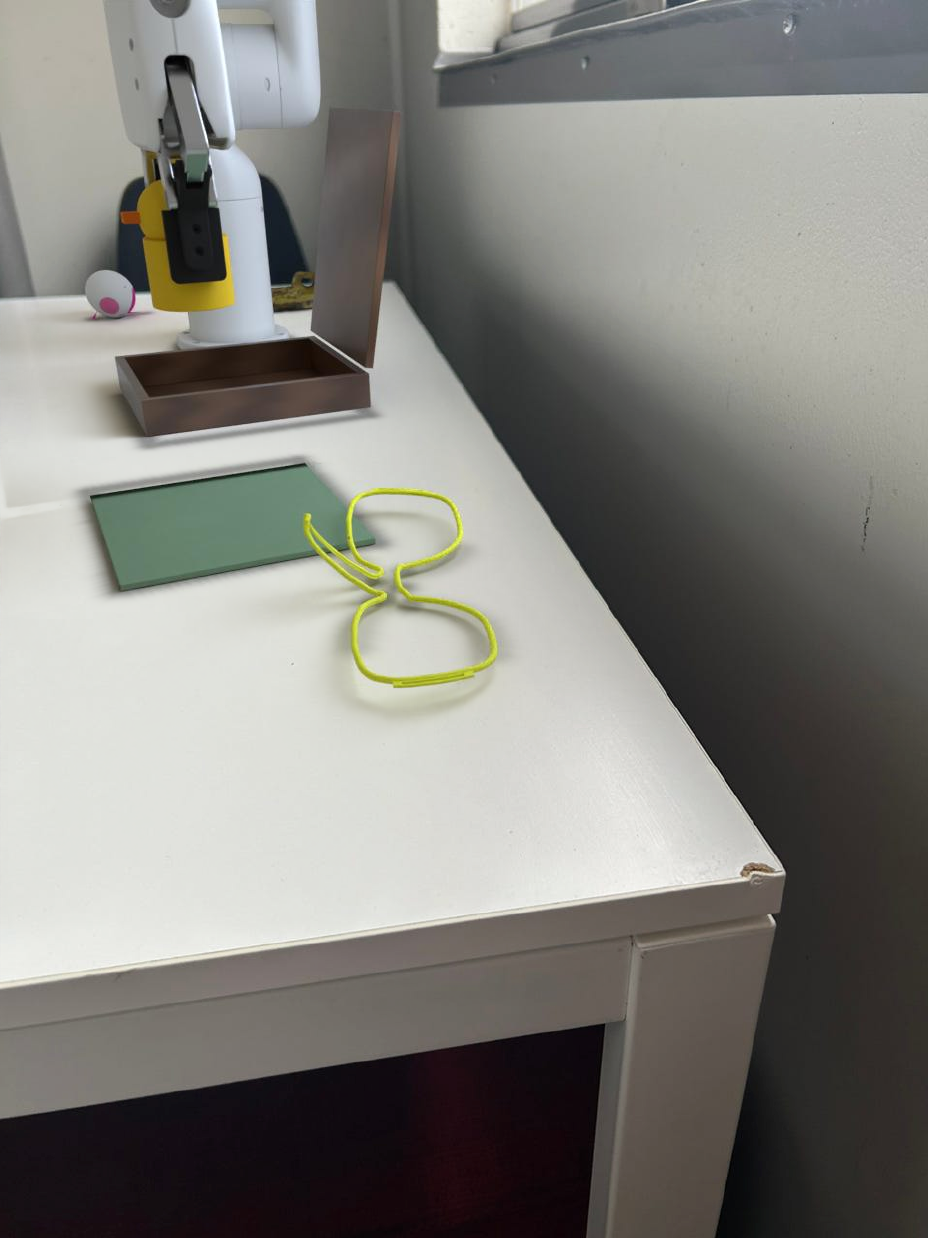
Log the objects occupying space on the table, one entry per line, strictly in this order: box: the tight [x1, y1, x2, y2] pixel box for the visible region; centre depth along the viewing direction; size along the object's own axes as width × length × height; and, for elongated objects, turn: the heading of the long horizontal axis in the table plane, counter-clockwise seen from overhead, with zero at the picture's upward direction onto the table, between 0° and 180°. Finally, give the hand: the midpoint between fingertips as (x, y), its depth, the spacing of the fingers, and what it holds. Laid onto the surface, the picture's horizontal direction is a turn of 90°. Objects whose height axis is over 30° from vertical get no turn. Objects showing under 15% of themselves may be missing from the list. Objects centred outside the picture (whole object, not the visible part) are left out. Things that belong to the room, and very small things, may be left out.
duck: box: [119, 179, 235, 313], centre depth 60 cm, size 6×5×7 cm
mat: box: [89, 462, 377, 592], centre depth 68 cm, size 18×16×1 cm
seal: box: [271, 270, 315, 312], centre depth 132 cm, size 9×5×15 cm
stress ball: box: [84, 269, 140, 320], centre depth 127 cm, size 8×8×7 cm
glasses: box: [303, 487, 499, 689], centre depth 57 cm, size 25×10×5 cm, turn 7°
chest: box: [114, 335, 372, 438], centre depth 91 cm, size 20×17×4 cm
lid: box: [310, 106, 403, 369], centre depth 89 cm, size 20×17×1 cm
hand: (189, 271), depth 61 cm, fingers closed on duck, 5 cm apart
